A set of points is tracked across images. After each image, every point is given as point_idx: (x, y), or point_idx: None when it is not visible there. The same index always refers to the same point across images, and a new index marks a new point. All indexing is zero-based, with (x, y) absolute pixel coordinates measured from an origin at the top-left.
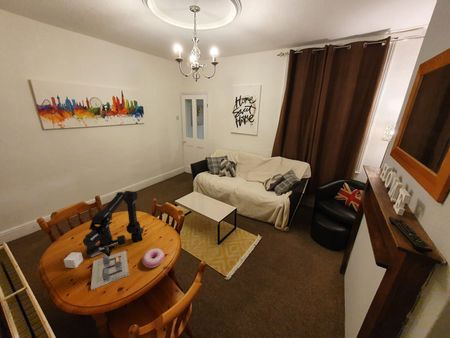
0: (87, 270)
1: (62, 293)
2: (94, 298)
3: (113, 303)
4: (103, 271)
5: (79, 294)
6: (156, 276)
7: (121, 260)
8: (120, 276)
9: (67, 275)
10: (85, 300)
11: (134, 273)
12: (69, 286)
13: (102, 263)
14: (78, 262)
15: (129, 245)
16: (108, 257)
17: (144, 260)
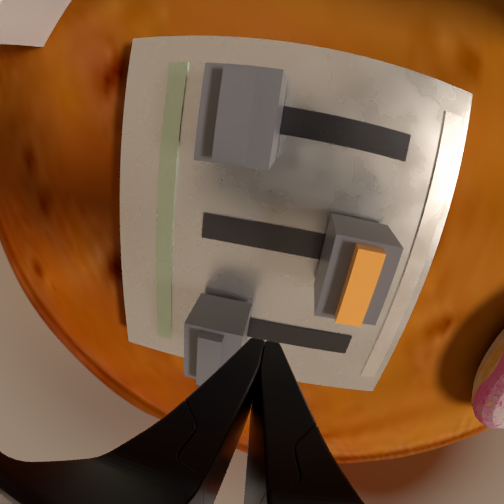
0: (97, 116)
1: (16, 242)
2: (160, 386)
3: (242, 450)
4: (194, 345)
5: (85, 312)
6: (452, 438)
7: (392, 219)
8: (317, 383)
9: (11, 103)
10: (121, 366)
11: (401, 381)
12: (28, 212)
13: None
14: (46, 14)
15: (496, 26)
16: (270, 153)
17: (495, 399)
